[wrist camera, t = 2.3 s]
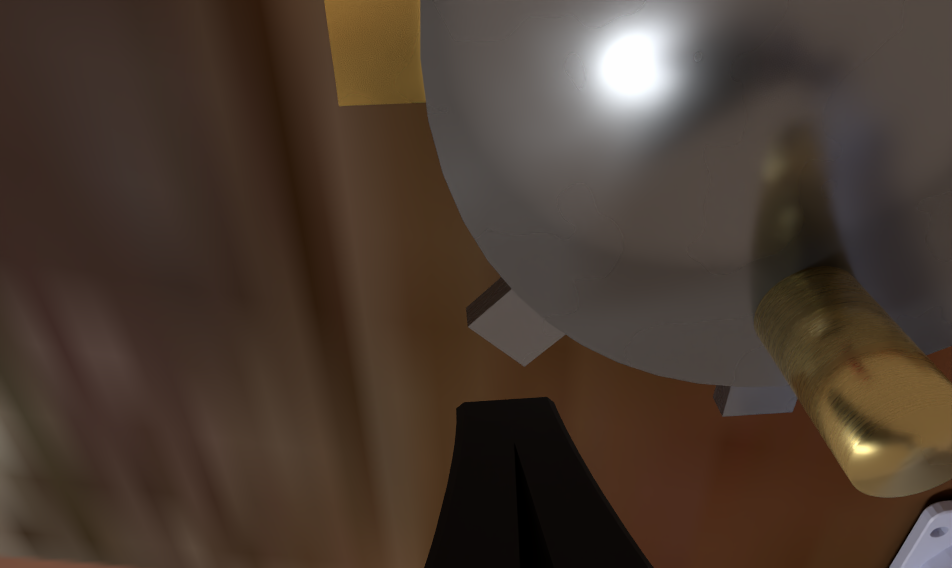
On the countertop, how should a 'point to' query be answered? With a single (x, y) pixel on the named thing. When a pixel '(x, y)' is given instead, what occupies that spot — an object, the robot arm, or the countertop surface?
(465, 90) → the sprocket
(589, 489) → the robot arm
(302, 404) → the countertop surface
